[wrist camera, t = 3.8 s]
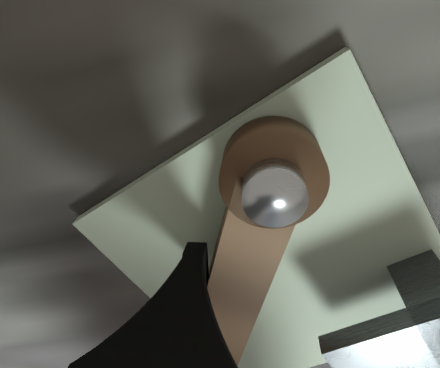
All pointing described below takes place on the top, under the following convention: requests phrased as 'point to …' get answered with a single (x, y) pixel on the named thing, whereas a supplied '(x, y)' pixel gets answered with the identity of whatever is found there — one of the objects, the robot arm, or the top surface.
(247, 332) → the link
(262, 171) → the pin
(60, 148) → the top surface
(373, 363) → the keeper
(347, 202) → the base board
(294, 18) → the top surface
